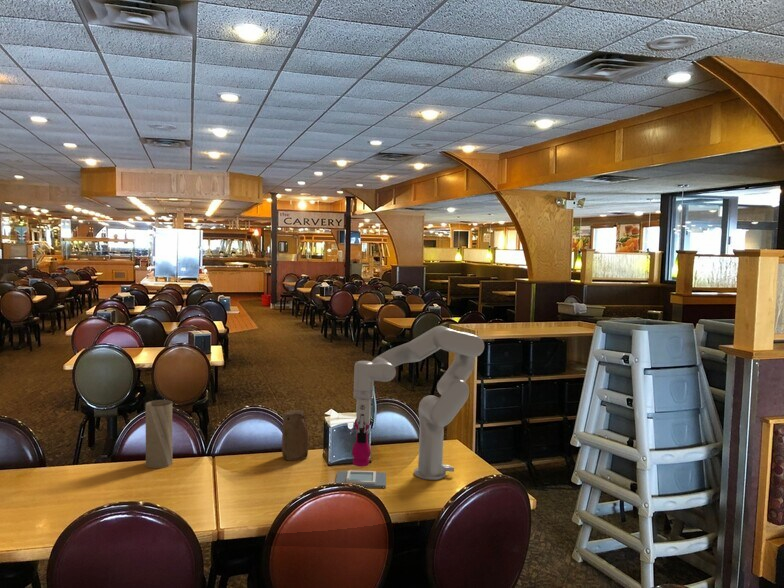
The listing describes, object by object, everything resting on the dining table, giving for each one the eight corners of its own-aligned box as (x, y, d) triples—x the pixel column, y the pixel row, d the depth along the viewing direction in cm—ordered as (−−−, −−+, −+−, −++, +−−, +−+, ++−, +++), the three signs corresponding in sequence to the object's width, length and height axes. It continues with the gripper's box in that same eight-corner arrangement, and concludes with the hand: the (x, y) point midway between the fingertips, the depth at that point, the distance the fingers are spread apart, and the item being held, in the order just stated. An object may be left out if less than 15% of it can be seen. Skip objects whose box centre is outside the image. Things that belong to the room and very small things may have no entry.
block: (282, 461, 255) (282, 414, 254) (281, 455, 263) (282, 409, 261) (308, 460, 258) (309, 413, 256) (307, 454, 265) (308, 408, 263)
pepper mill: (356, 468, 232) (357, 416, 231) (348, 461, 239) (350, 411, 237) (373, 465, 236) (375, 414, 234) (365, 459, 242) (367, 409, 240)
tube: (141, 463, 248) (140, 402, 246) (164, 457, 256) (164, 398, 253) (153, 470, 242) (153, 407, 239) (177, 464, 249) (177, 403, 247)
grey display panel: (386, 474, 244) (386, 470, 244) (385, 488, 231) (385, 483, 231) (337, 473, 244) (338, 469, 244) (334, 486, 231) (335, 482, 231)
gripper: (372, 399, 226) (370, 448, 228) (374, 388, 243) (372, 433, 245) (352, 398, 226) (350, 447, 228) (354, 387, 243) (353, 433, 245)
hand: (361, 439), depth 236 cm, fingers closed on pepper mill, 5 cm apart
